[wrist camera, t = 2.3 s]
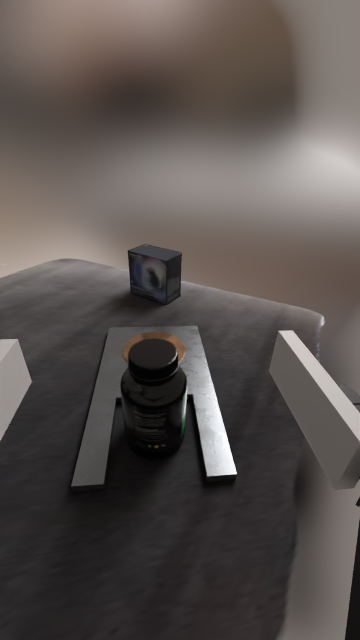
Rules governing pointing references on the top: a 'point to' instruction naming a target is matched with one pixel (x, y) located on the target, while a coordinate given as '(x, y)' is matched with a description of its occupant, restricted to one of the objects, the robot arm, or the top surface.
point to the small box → (155, 273)
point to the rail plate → (107, 396)
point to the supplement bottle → (154, 398)
